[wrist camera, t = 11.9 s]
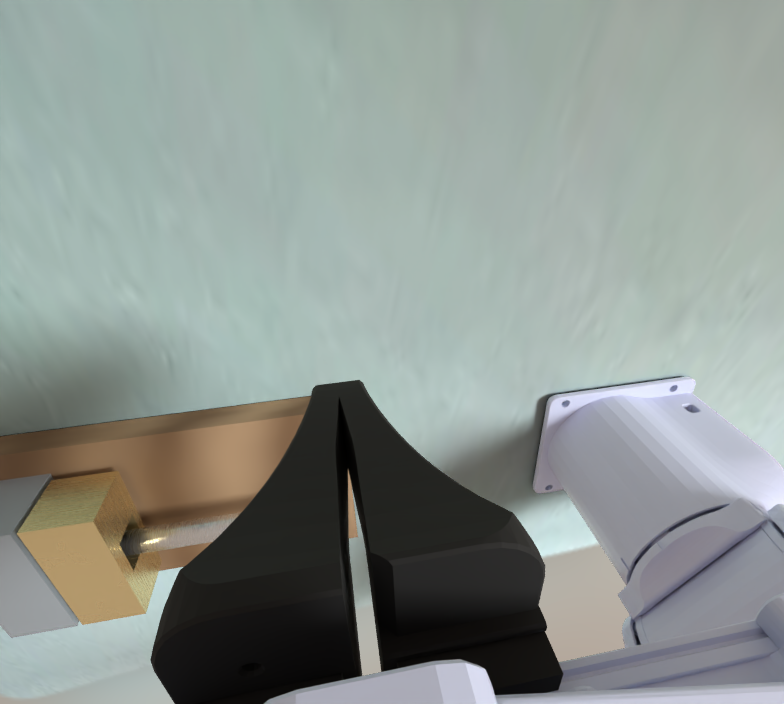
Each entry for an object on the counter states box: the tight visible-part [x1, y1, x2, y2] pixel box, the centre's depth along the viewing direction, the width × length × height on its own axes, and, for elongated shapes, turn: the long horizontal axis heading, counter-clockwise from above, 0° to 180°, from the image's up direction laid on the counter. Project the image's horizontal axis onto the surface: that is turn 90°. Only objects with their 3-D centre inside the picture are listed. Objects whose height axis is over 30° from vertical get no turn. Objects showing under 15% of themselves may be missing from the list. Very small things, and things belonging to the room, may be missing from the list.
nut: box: [17, 471, 162, 625], centre depth 22 cm, size 3×7×3 cm, turn 2°
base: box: [0, 396, 358, 638], centre depth 23 cm, size 18×10×5 cm, turn 92°
